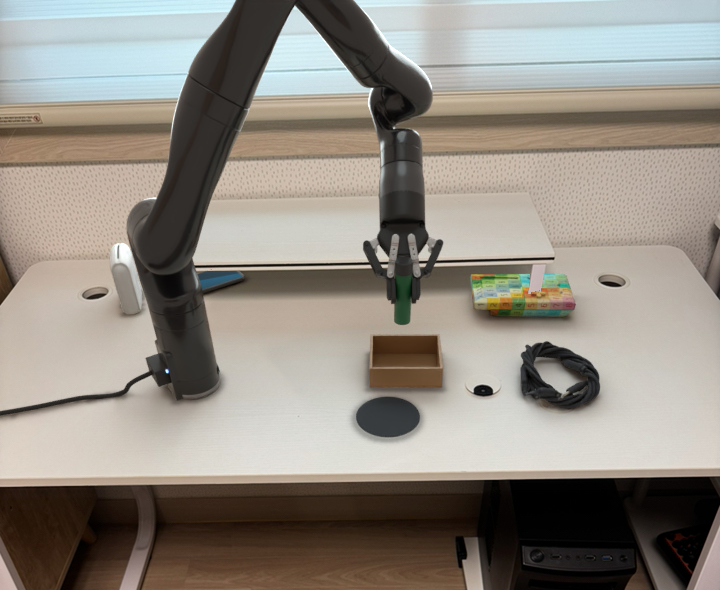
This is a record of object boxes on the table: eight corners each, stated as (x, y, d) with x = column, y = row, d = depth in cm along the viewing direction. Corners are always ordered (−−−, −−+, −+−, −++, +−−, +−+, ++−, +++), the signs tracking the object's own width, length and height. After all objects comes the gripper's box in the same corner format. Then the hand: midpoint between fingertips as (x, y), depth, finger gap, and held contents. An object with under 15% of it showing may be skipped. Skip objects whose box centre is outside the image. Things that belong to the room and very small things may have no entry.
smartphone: (170, 285, 153) (169, 282, 153) (231, 266, 159) (231, 262, 159) (183, 300, 149) (182, 296, 148) (246, 279, 155) (246, 276, 154)
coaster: (377, 447, 114) (377, 445, 114) (344, 411, 121) (344, 409, 120) (432, 425, 118) (432, 422, 117) (397, 391, 125) (397, 389, 124)
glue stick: (399, 327, 117) (401, 266, 109) (390, 319, 119) (391, 259, 111) (413, 322, 118) (416, 262, 110) (404, 314, 120) (406, 254, 112)
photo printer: (123, 292, 152) (107, 238, 143) (143, 289, 153) (128, 236, 144) (122, 316, 145) (105, 261, 136) (143, 313, 146) (128, 258, 137)
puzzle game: (576, 299, 137) (475, 299, 138) (572, 320, 140) (472, 319, 141) (567, 270, 145) (471, 270, 146) (563, 291, 148) (469, 290, 149)
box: (369, 389, 125) (369, 368, 122) (370, 354, 133) (370, 334, 130) (441, 389, 125) (443, 368, 122) (438, 354, 133) (439, 334, 130)
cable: (518, 350, 133) (521, 331, 130) (593, 356, 131) (598, 336, 128) (518, 405, 121) (521, 385, 118) (600, 412, 119) (606, 392, 116)
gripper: (359, 189, 110) (361, 297, 110) (447, 187, 110) (449, 295, 110) (359, 208, 117) (361, 309, 117) (441, 206, 117) (443, 307, 117)
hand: (403, 302), depth 114 cm, fingers closed on glue stick, 3 cm apart
